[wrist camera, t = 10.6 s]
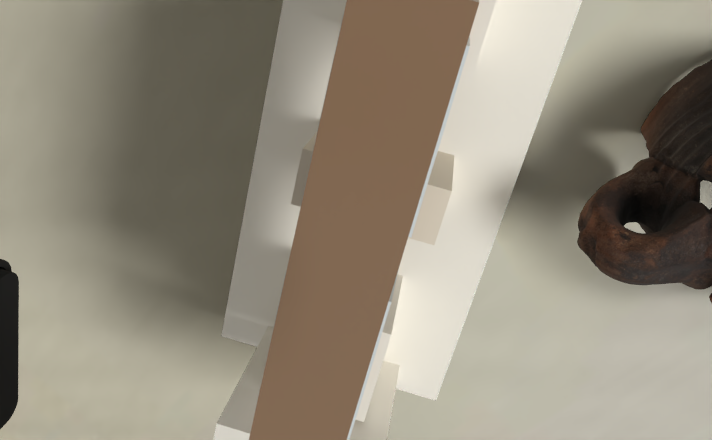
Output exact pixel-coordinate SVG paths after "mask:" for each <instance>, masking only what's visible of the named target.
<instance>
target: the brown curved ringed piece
mask: <svg viewBox="0 0 712 440" xmlns="http://www.w3.org/2000/svg"><path fill="white" fill-rule="evenodd" d="M641 132H642V135H643V136H644V138H645V140H646V142H647V143H646V147H647V149H648V150H649V158H647V159H644V160H641V161H639V162H638V163H637V164H636V165H635V166H634V167H633V169H632V170H630V171H629V172H627V173H625V174H622V175H620V176H618V177H616V178H614V179H612V180H610V181H608V182H607V183H606V184H604V185H603V186H602V187H600V188H599V189H598V191H597V192H596V193H595V194H594V195H593V196H592V197H591V198H590V199H589V200H588V201H587V202H586V204H585V206H584V208H583V210H582V211H581V213H580V217H579V221H578V228H579V231H580V233H579V238H578V241H577V242H578V246H579V247H580V248H581V250H583V251H584V252H585V254H587V256H588V257H589V258H590V259H591V261H592V262H593V263H594V264H595V266H597V267H598V268H599V270H600V271H602V272H603V273H604V274H606V275H607V276H609V277H611V278H613V279H615V280H618V281H621V282H624V283H628V284H634V285H652V284H666V283H683V284H685V285H687V286H689V287H692V288H695V289H706V288H708V287H710V286H712V208H711V209H710V210H709V209H708V208H707V207H706V206H705V205H703V204H702V203H699V202H700V182H701V181H702V180H707V181H710V182H712V60H710V61H709V62H707V63H705V64H703V65H701V66H699V67H697V68H695V69H694V70H692V71H691V72H690V73H689V74H688V75H687V76H685V77H684V78H683V79H681V80H680V81H679V82H677V83H676V84H674V85H673V86H672V87H671V88H670V89H669V90H668V91H667V92H666V93H665V94H664V95H663V96H662V97H661V99H660V100H659V101H658V103H657V105H656V106H655V107H654V108H653V109H652V111H651V112H650V114H649V115H648V117H647V119H646V120H645V122H644V124H643V125H642V127H641ZM628 222H637V223H639V224H640V226H641V228H642V229H643V230H644V231H645V233H646V234H641V233H636V232H633V231H631V230H629V229H627V228H625V227H624V225H625V224H626V223H628ZM709 298H710V301H711V302H712V293H711V295H710V296H709Z"/></svg>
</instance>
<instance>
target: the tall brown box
mask: <svg viewBox="0 0 712 440" xmlns="http://www.w3.org/2000/svg"><path fill="white" fill-rule="evenodd" d="M478 6H479V0H347V2H346V6H345V11H344V13H343V18H342V22H341V27H340V31H339V36H338V40H337V45H336V49H335V54H334V58H333V63H332V67H331V72H330V76H329V81H328V85H327V90H326V94H325V99H324V103H323V108H322V112H321V117H320V121H319V126H318V130H317V135H316V139H315V144H314V148H313V153H312V157H311V162H310V166H309V170H308V175H307V179H306V184H305V188H304V193H303V197H302V202H301V208H300V212H299V217H298V221H297V226H296V230H295V235H294V239H293V244H292V248H291V253H290V257H289V262H288V266H287V270H286V274H285V278H284V283H283V287H282V292H281V296H280V301H279V305H278V310H277V314H276V319H275V323H274V328H273V332H272V337H271V341H270V346H269V350H268V355H267V359H266V364H265V368H264V373H263V377H262V382H261V386H260V391H259V395H258V400H257V404H256V408H255V414H254V419H253V423H252V428H251V432H250V437H249V440H347V439H348V440H349V439H350V436H351V433H352V429H353V426H354V423H355V420H356V416H357V413H358V410H359V406H360V403H361V400H362V397H363V393H364V390H365V387H366V384H367V380H368V377H369V374H370V371H371V367H372V364H373V361H374V357H375V354H376V351H377V348H378V344H379V341H380V338H381V335H382V331H383V328H384V325H385V322H386V318H387V315H388V312H389V308H390V305H391V302H392V297H393V293H394V288H395V284H396V279H397V275H398V270H399V266H400V262H401V259H402V256H403V252H404V249H405V246H406V243H407V239H408V237H410V238H411V237H412V233H413V230H414V227H415V223H416V220H417V217H418V214H419V210H420V207H421V204H422V201H423V197H424V194H425V191H426V188H427V184H428V181H429V178H430V174H431V171H432V168H433V165H434V161H435V158H436V155H437V152H438V148H439V145H440V142H441V139H442V135H443V132H444V129H445V125H446V122H447V119H448V116H449V112H450V109H451V106H452V103H453V99H454V96H455V93H456V90H457V86H458V83H459V80H460V76H461V73H462V70H463V67H464V63H465V60H466V57H467V54H468V50H469V47H470V32H471V29H472V25H473V22H474V19H475V15H476V12H477V9H478Z"/></svg>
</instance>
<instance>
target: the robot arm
mask: <svg viewBox="0 0 712 440" xmlns="http://www.w3.org/2000/svg"><path fill="white" fill-rule="evenodd" d="M18 300H19V281H18V276H17V275H16V274H15V273H13V272H12V271H11V266H10V264H9V262H7V261H5V260H2V259H0V429H1V428H2V427H3V426H4V425H5V424H6V423H7V421H8V420H9V419H10V418H11V416H12V414H13V413H14V410H15V408H16V405H17V402H18Z"/></svg>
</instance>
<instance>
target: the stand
mask: <svg viewBox="0 0 712 440" xmlns="http://www.w3.org/2000/svg"><path fill="white" fill-rule="evenodd" d="M346 2H347V0H283V4H282V9H281V15H280V20H279V25H278V31H277V36H276V42H275V47H274V53H273V58H272V63H271V69H270V74H269V80H268V85H267V91H266V96H265V101H264V107H263V112H262V118H261V123H260V129H259V134H258V139H257V145H256V150H255V156H254V161H253V167H252V172H251V177H250V183H249V188H248V194H247V199H246V205H245V210H244V215H243V221H242V226H241V232H240V237H239V243H238V248H237V253H236V259H235V264H234V270H233V275H232V281H231V286H230V291H229V297H228V302H227V308H226V313H225V319H224V324H223V329H222V335H221V336H222V337H226V338H229V339H232V340H236V341H239V342H242V343H246V344H249V345H252V346H256V347H257V349H256V351H255V352H254V354H253V356H252V358H251V360H250V362H249V364H248V366H247V367H246V369H245V371H244V373H243V375H242V377H241V379H240V381H239V382H238V384H237V386H236V388H235V390H234V392H233V394H232V396H231V397H230V399H229V401H228V403H227V405H226V407H225V409H224V411H223V412H222V414H221V416H220V418H219V420H218V422H217V424H216V429H215V434H214V439H213V440H249V437H250V432H251V428H252V423H253V419H254V414H255V408H256V404H257V400H258V395H259V391H260V386H261V382H262V377H263V373H264V368H265V364H266V359H267V355H268V350H269V346H270V341H271V337H272V332H273V328H274V323H275V319H276V314H277V310H278V305H279V301H280V296H281V292H282V287H283V283H284V278H285V274H286V270H287V266H288V262H289V257H290V253H291V248H292V244H293V239H294V235H295V230H296V226H297V221H298V217H299V212H300V208H301V202H302V197H303V193H304V188H305V184H306V179H307V175H308V170H309V166H310V162H311V157H312V153H313V148H314V144H315V139H316V135H317V130H318V126H319V121H320V117H321V112H322V108H323V103H324V99H325V94H326V90H327V85H328V81H329V76H330V72H331V67H332V63H333V58H334V54H335V49H336V45H337V40H338V36H339V31H340V27H341V22H342V18H343V13H344V11H345V6H346ZM581 3H582V0H479V6H478V9H477V12H476V15H475V19H474V22H473V25H472V29H471V32H470V47H469V50H468V54H467V57H466V60H465V63H464V67H463V70H462V73H461V76H460V80H459V83H458V86H457V90H456V93H455V96H454V99H453V103H452V106H451V109H450V112H449V116H448V119H447V122H446V125H445V129H444V132H443V135H442V139H441V142H440V145H439V148H438V152H437V155H436V158H435V161H434V165H433V168H432V171H431V174H430V178H429V181H428V184H427V188H426V191H425V194H424V197H423V201H422V204H421V207H420V210H419V214H418V217H417V220H416V223H415V227H414V230H413V233H412V237H411V238H410V237H408V239H407V243H406V246H405V249H404V252H403V256H402V259H401V262H400V266H399V270H398V275H397V279H396V284H395V288H394V293H393V297H392V302H391V305H390V308H389V312H388V315H387V318H386V322H385V325H384V328H383V331H382V335H381V338H380V341H379V344H378V348H377V351H376V354H375V357H374V361H373V364H372V367H371V371H370V374H369V377H368V380H367V384H366V387H365V390H364V393H363V397H362V400H361V403H360V406H359V410H358V413H357V416H356V420H355V423H354V426H353V429H352V433H351V436H350V439H349V440H387V438H388V432H389V426H390V420H391V414H392V408H393V402H394V396H395V390H396V389H398V390H402V391H405V392H408V393H412V394H415V395H418V396H422V397H425V398H428V399H432V400H435V401H436V399H437V396H438V393H439V391H440V388H441V385H442V383H443V380H444V377H445V374H446V372H447V369H448V366H449V363H450V361H451V358H452V355H453V352H454V350H455V347H456V344H457V342H458V339H459V336H460V333H461V331H462V328H463V325H464V322H465V320H466V317H467V314H468V311H469V309H470V306H471V303H472V301H473V298H474V295H475V292H476V290H477V287H478V284H479V281H480V279H481V276H482V273H483V270H484V268H485V265H486V262H487V260H488V257H489V254H490V251H491V249H492V246H493V243H494V240H495V238H496V235H497V232H498V229H499V227H500V224H501V221H502V219H503V216H504V213H505V210H506V208H507V205H508V202H509V199H510V197H511V194H512V191H513V188H514V186H515V183H516V180H517V178H518V175H519V172H520V169H521V167H522V164H523V161H524V158H525V156H526V153H527V150H528V147H529V145H530V142H531V139H532V137H533V134H534V131H535V128H536V126H537V123H538V120H539V117H540V115H541V112H542V109H543V106H544V104H545V101H546V98H547V96H548V93H549V90H550V87H551V85H552V82H553V79H554V76H555V74H556V71H557V68H558V65H559V63H560V60H561V57H562V55H563V52H564V49H565V46H566V44H567V41H568V38H569V35H570V33H571V30H572V27H573V24H574V22H575V19H576V16H577V14H578V11H579V8H580V5H581ZM347 440H348V439H347Z"/></svg>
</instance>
